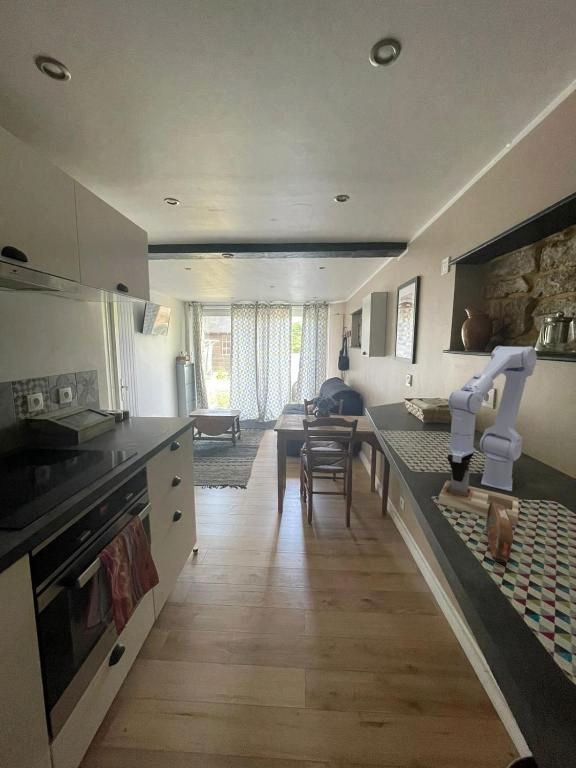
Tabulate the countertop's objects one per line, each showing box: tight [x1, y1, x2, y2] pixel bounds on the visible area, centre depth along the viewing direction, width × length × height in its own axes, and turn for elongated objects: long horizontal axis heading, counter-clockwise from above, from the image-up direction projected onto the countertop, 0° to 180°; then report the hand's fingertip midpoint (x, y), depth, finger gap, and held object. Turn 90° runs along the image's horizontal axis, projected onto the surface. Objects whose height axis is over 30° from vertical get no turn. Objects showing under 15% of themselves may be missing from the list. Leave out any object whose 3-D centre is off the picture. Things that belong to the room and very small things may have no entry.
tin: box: [486, 502, 514, 561], centre depth 68 cm, size 15×3×8 cm, turn 153°
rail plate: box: [438, 480, 519, 527], centre depth 85 cm, size 11×18×3 cm, turn 52°
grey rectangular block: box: [450, 465, 471, 494], centre depth 87 cm, size 4×4×7 cm
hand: (459, 477), depth 87 cm, fingers closed on grey rectangular block, 4 cm apart
